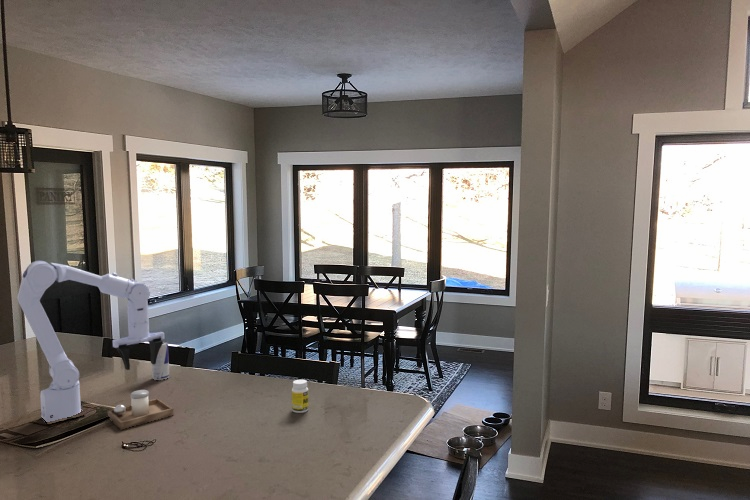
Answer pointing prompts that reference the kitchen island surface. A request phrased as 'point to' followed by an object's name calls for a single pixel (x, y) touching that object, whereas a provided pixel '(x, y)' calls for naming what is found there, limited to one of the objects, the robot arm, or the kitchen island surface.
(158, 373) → the energy drink
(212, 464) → the kitchen island surface
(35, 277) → the robot arm
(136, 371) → the kitchen island surface
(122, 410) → the steel ball
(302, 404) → the supplement bottle
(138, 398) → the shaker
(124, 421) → the tray
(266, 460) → the kitchen island surface
